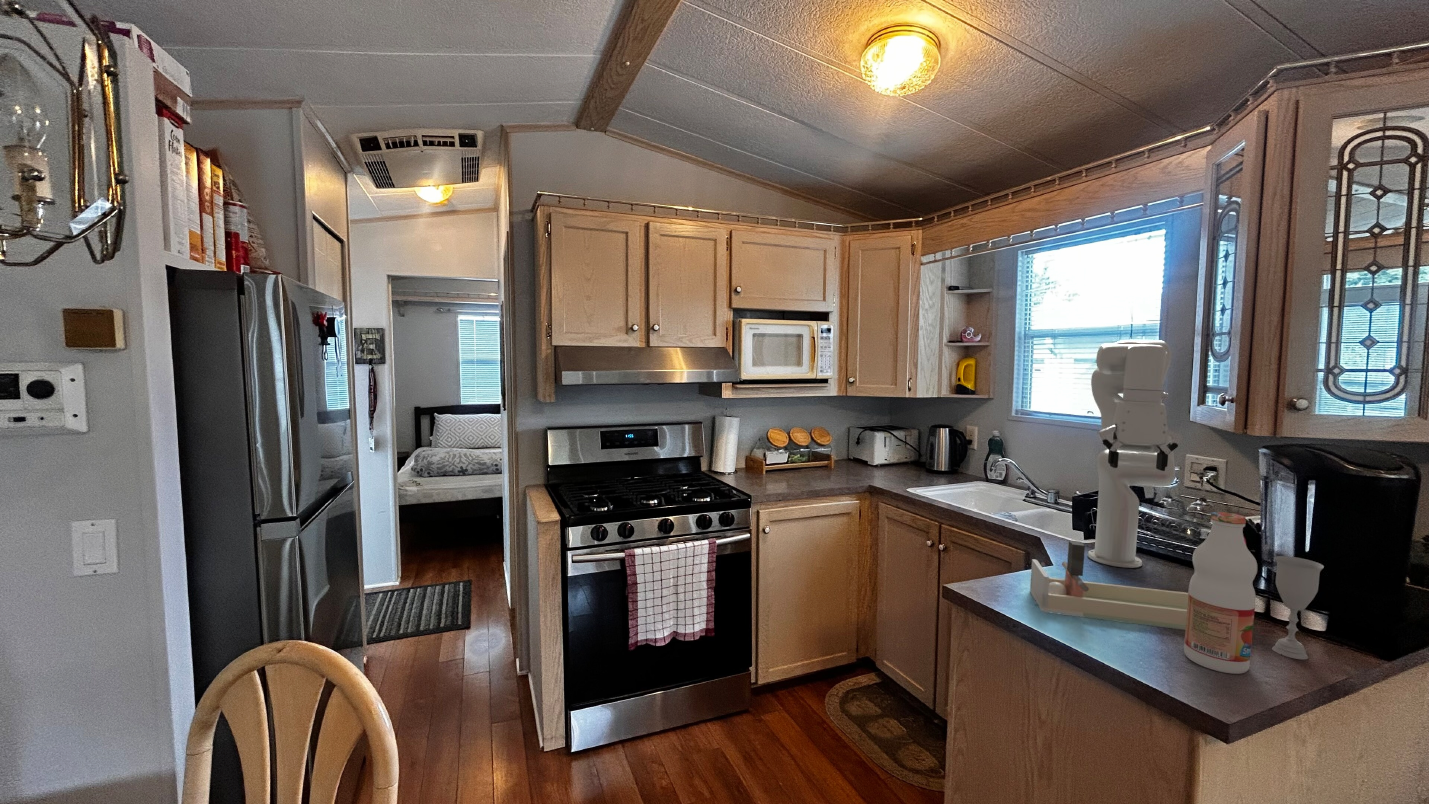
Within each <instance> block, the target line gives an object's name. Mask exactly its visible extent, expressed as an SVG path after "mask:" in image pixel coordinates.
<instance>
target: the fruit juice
mask: <svg viewBox="0 0 1429 804" xmlns="http://www.w3.org/2000/svg"><path fill="white" fill-rule="evenodd" d="M1209 518H1210V522H1211V524H1212V525H1211V528H1210V530H1209V533H1208V535H1207V537H1205V540H1204V541H1203V542H1202V543H1200V544H1199V545H1198V546H1197V547H1195V549H1194V550H1193V552H1192V553H1193V554H1192V557H1191V558H1192V565H1193V568H1194V572H1193V574H1192V576H1191V577H1190V580H1189V584H1188V592H1187V593H1188V606H1187V617H1186V629H1185V630H1184V631H1185V632H1184V633H1185V634H1184V641H1183V642H1184V643H1183V651H1184V655H1185V656H1186V657H1187V659H1188V660H1191V661H1192V662H1193V663H1195V664H1197V665H1199V666H1201V667H1203V668H1207V669H1210V670H1213V671H1216V672H1220V673H1223V674H1224V673H1226V674H1231V675H1232V674H1233V675H1235V674H1236V675H1237V674H1238V675H1239V674H1244V673H1247V671H1248V670H1249V669H1250V665H1251V652H1252V643H1253V633H1254V622H1255V621H1254V619H1255V610H1256V609H1255V608H1256V590H1255V588H1254V586H1253V583H1254V582H1253V581H1254V580H1255V578H1256V575H1257V574H1258V563H1257V560H1256V558H1255V556H1254V555H1253V554H1252V553H1251V551H1250V550H1249V549H1248V546H1247V543H1246V544H1245V541H1244V538H1245V536H1244V533H1243V531H1244V528H1245V527H1246V523H1247V520H1246V517H1245V516H1244V515H1242V514H1241V515H1240V514H1237V513H1233V512H1232V513H1231V512H1225V511H1213V512H1211V514H1210V517H1209ZM1243 536H1244V537H1243Z"/></svg>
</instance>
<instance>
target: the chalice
mask: <svg viewBox="0 0 1429 804" xmlns="http://www.w3.org/2000/svg"><path fill="white" fill-rule="evenodd" d="M1274 560H1275V563H1276V572H1275V573H1276V574H1275V575H1276V576H1275V585H1276V588H1277V591H1278V593H1279V596H1280V598H1281V600H1282V602H1283V605H1284V606H1285V607H1286V608H1288V609H1290V614H1289V616H1288V617H1287V619H1288V621H1289V622H1288V625H1287V626H1286V627H1285V628H1286V629H1287V631H1288V635H1287V636H1285V637H1281V638H1279V639H1278V640H1277V641H1276V642H1275V645H1274V646H1273V647H1272V648H1271V649H1272V651H1274V652H1276V653H1277V654H1279V655H1281V654H1282V656H1284V657H1287V658H1291V659H1297V660H1308V659H1309V657H1308V655H1307V651H1306V650H1305V646H1304V645H1303V644H1302V643H1301V642H1299V641H1298V640H1297V639H1296V632H1298V631H1299V629H1298V628H1297V623H1298V622H1299V621H1300V620H1299V619H1298V615H1297V614H1298V612H1299V611H1304V610H1305V609H1306V608H1307V607H1308V606H1309V604H1310V603H1311V602H1312V601H1313V600H1314V599H1315V597H1316V595H1317V593H1318V592H1319V584H1320V573H1321V571H1322V570H1323V569H1324V567H1325V566H1324V565H1323V564H1322V563H1319V562H1316V561H1313V560H1310V559H1305V558H1301V557H1296V556H1295V557H1294V556H1287V555H1277V556H1275V557H1274Z"/></svg>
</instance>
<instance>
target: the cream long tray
mask: <svg viewBox="0 0 1429 804" xmlns="http://www.w3.org/2000/svg"><path fill="white" fill-rule="evenodd" d="M1030 570H1031V572H1030V589H1029V593H1030V594H1031V596H1032V597H1033V599H1034V600H1036V601H1035V602H1036V604H1037V606H1038V605H1039V606H1038V607H1039V609H1040V611H1041V610H1042V611H1043V612H1042V611H1041V612H1042V613H1048V612H1052V613H1051V614H1056V613H1060V614H1059V615H1066V616H1071V615H1072V617H1079V616H1080V617H1081V618H1088V619H1097V620H1103V621H1113V622H1121V623H1126V624H1127V623H1129V624H1136V625H1145V626H1153V627H1161V628H1168V629H1176V630H1182V631H1183V630H1184V631H1185V629H1186V617H1187V606H1188V592H1185V591H1184V592H1183V591H1175V590H1166V589H1157V588H1156V589H1155V588H1148V587H1141V586H1140V587H1138V586H1129V585H1122V584H1121V585H1119V584H1110V583H1104V582H1103V583H1102V582H1096V581H1095V582H1094V581H1093V582H1092V581H1085V580H1082V581H1083V582H1084V583H1085V584H1086V586H1087V587H1088V588H1089V590H1088V591H1087V592H1085V591H1083V597H1075V596H1067V595H1058V594H1050V593H1048V592H1049V583H1051V582H1059V583H1061V584H1062V585H1063V586H1064V587H1065V578H1058V577H1051V576H1049V575H1048V573H1047V572H1046V570H1045V569H1044V568H1043V566H1042V565H1041V564H1040V562H1039V561H1038V559H1034V558H1033V559H1031V569H1030Z"/></svg>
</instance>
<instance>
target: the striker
mask: <svg viewBox="0 0 1429 804" xmlns="http://www.w3.org/2000/svg"><path fill="white" fill-rule="evenodd" d="M1085 549H1086V546H1085V544H1084V543H1083V542H1082V541H1078V540H1077V541H1076V540H1068V549H1067V562H1066V561H1063V562H1062V563H1061V566H1062V567H1063V568H1064V569H1065V577H1064V579H1065V589H1066V595H1067V596H1075V597H1083V591H1085V592H1087V591H1088V590H1089V588H1088V587H1087V586H1086V584H1085V583H1084V582H1083V581H1084V580H1082V579H1081V577H1083V576H1084V575H1083V574H1084V564H1085V562H1084V561H1085Z"/></svg>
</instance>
